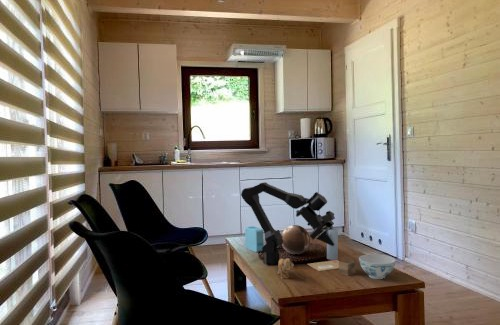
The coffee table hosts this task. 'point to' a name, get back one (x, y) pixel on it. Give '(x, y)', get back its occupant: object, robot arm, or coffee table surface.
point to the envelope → (325, 265)
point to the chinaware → (377, 265)
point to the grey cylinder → (333, 250)
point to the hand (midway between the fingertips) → (335, 244)
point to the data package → (254, 239)
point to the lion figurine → (284, 266)
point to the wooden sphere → (295, 239)
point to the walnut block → (347, 267)
